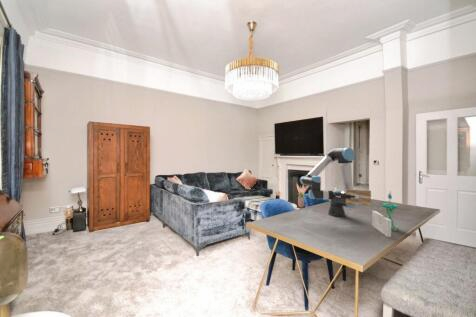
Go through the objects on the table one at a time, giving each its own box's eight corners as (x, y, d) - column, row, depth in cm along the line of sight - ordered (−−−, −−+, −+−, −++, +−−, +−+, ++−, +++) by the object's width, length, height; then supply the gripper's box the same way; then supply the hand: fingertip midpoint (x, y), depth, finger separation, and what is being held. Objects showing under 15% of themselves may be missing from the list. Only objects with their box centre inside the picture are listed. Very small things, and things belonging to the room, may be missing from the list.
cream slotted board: (371, 224, 178) (372, 210, 178) (374, 225, 177) (375, 210, 177) (387, 236, 152) (387, 220, 152) (390, 237, 152) (391, 220, 152)
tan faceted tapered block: (345, 203, 180) (346, 189, 179) (369, 205, 176) (369, 190, 176) (346, 204, 177) (346, 190, 177) (370, 205, 174) (370, 190, 174)
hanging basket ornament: (380, 225, 177) (381, 189, 177) (396, 227, 173) (397, 190, 172) (382, 229, 168) (383, 191, 167) (399, 231, 163) (400, 192, 162)
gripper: (325, 197, 189) (354, 198, 184) (329, 201, 173) (361, 202, 169) (326, 189, 189) (355, 190, 184) (330, 192, 173) (361, 193, 169)
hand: (358, 196), depth 177 cm, fingers closed on tan faceted tapered block, 2 cm apart
